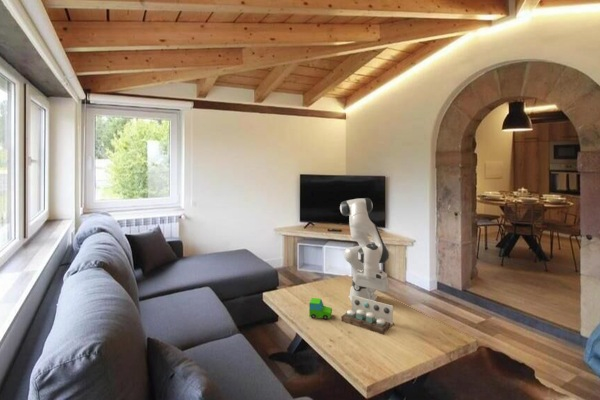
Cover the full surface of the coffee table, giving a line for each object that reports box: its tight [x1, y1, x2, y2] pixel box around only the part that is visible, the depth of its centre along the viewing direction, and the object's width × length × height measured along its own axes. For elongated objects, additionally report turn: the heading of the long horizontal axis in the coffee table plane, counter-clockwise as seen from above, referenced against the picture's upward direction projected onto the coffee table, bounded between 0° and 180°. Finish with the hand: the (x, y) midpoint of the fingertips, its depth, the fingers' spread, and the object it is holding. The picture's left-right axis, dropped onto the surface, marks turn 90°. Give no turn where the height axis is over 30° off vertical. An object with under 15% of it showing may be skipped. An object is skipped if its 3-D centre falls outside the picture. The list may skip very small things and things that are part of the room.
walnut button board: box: [340, 312, 391, 335], centre depth 206 cm, size 10×27×3 cm, turn 53°
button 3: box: [366, 312, 375, 323], centre depth 204 cm, size 5×5×4 cm
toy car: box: [308, 297, 333, 321], centre depth 216 cm, size 10×13×10 cm
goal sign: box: [351, 295, 395, 328], centre depth 213 cm, size 4×27×12 cm, turn 53°
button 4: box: [376, 318, 385, 327], centre depth 200 cm, size 5×5×4 cm
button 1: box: [346, 309, 355, 318], centre depth 212 cm, size 5×5×4 cm
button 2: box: [356, 309, 365, 320], centre depth 208 cm, size 5×5×4 cm
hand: (370, 295), depth 202 cm, fingers closed
